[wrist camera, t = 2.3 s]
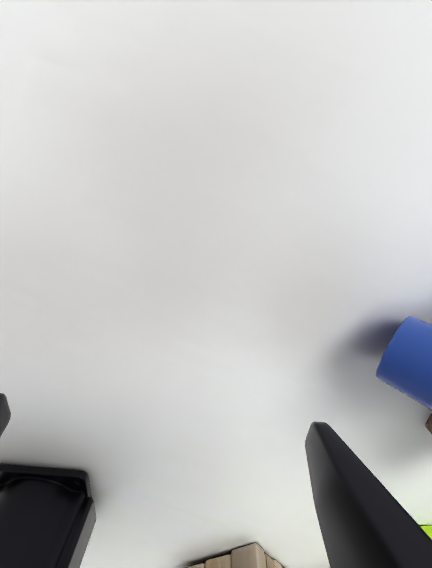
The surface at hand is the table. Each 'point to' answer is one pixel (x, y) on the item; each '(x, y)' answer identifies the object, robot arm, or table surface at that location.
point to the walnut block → (429, 425)
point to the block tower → (242, 559)
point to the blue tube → (409, 361)
